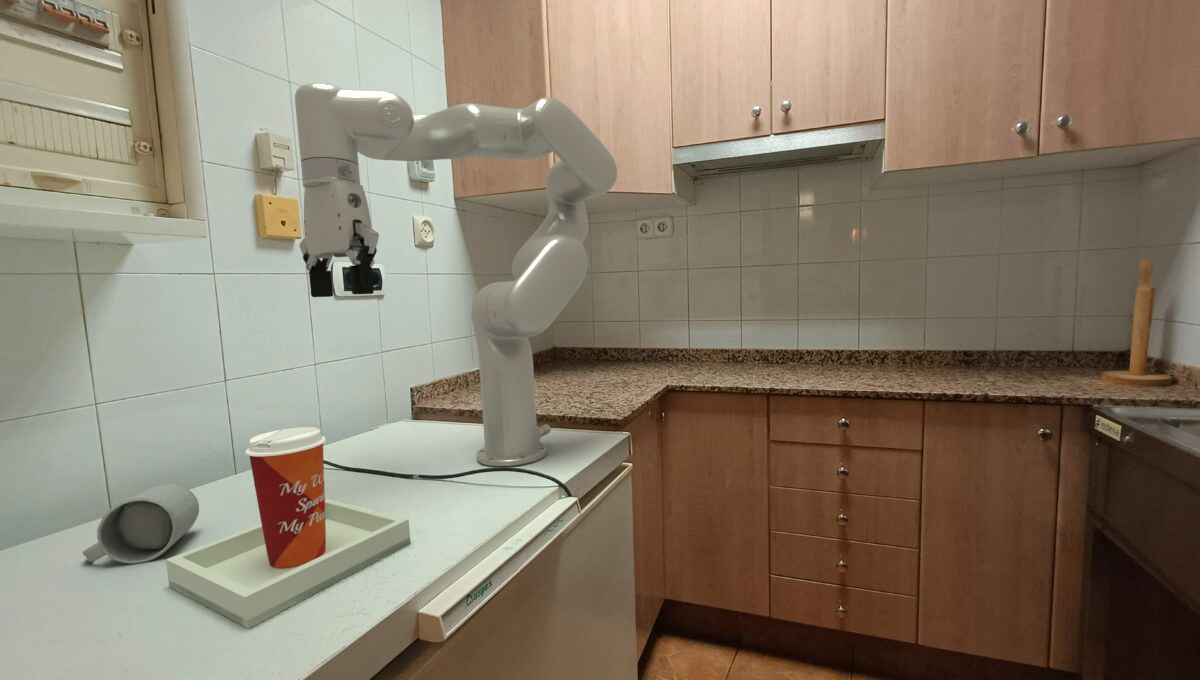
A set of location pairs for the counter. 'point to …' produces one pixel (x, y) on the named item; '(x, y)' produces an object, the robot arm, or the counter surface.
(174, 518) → the ceramic mug
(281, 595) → the sage tray
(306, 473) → the paper cup
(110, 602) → the counter surface
